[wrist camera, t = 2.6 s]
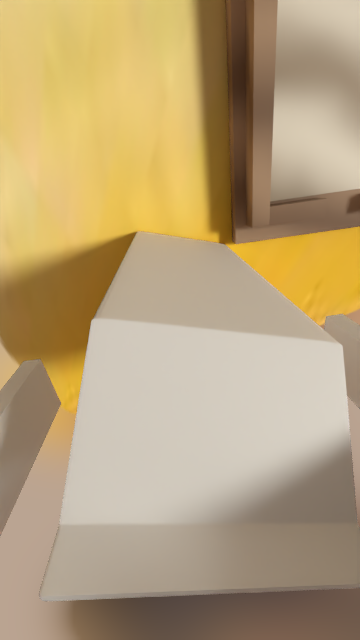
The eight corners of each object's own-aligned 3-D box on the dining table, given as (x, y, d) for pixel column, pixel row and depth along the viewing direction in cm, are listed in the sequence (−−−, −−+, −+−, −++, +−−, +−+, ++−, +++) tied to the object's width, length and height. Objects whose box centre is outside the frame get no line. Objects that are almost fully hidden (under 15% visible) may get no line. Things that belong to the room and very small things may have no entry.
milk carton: (137, 230, 20) (9, 476, 3) (225, 243, 21) (514, 487, 4) (130, 312, 23) (52, 656, 6) (207, 320, 24) (322, 637, 7)
